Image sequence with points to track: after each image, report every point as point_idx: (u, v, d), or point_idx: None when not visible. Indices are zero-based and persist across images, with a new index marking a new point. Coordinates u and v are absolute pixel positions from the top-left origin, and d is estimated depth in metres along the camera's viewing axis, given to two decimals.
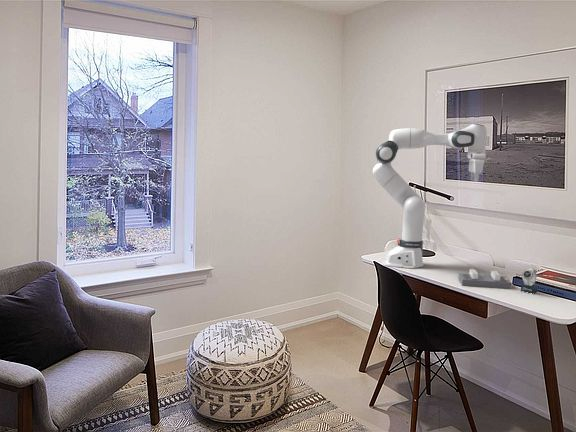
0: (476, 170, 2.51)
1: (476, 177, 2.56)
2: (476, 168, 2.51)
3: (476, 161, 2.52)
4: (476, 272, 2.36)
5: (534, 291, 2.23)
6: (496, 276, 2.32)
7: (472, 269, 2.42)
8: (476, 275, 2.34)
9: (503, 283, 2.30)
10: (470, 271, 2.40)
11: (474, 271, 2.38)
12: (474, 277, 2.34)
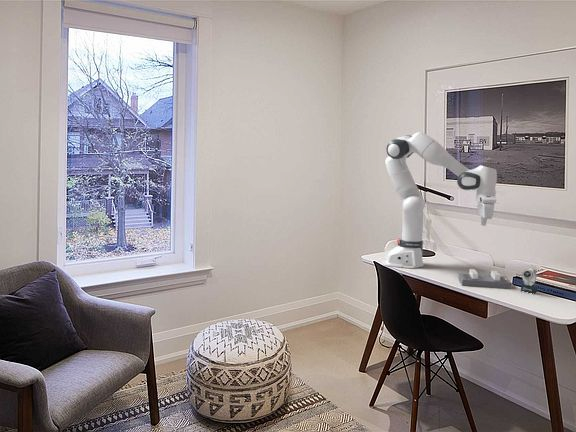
0: (486, 215, 2.35)
1: (484, 221, 2.43)
2: (486, 213, 2.35)
3: (486, 206, 2.35)
4: (476, 272, 2.36)
5: (534, 291, 2.23)
6: (496, 276, 2.32)
7: (472, 269, 2.42)
8: (476, 275, 2.34)
9: (503, 283, 2.30)
10: (470, 271, 2.40)
11: (474, 271, 2.38)
12: (474, 277, 2.34)
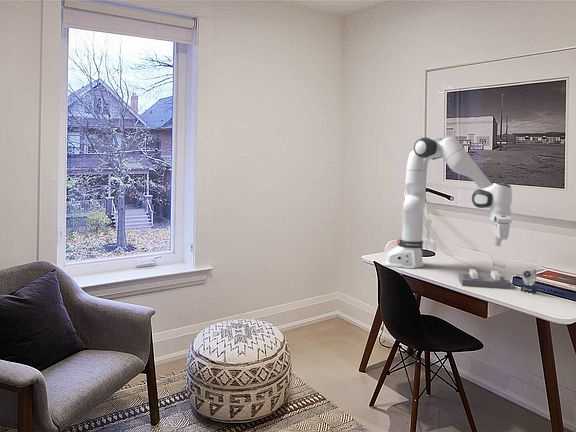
0: (501, 236, 2.24)
1: (498, 241, 2.32)
2: (501, 234, 2.24)
3: (501, 226, 2.24)
4: (476, 272, 2.36)
5: (534, 291, 2.23)
6: (496, 276, 2.32)
7: (472, 269, 2.42)
8: (476, 275, 2.34)
9: (503, 283, 2.30)
10: (470, 271, 2.40)
11: (474, 271, 2.38)
12: (474, 277, 2.34)
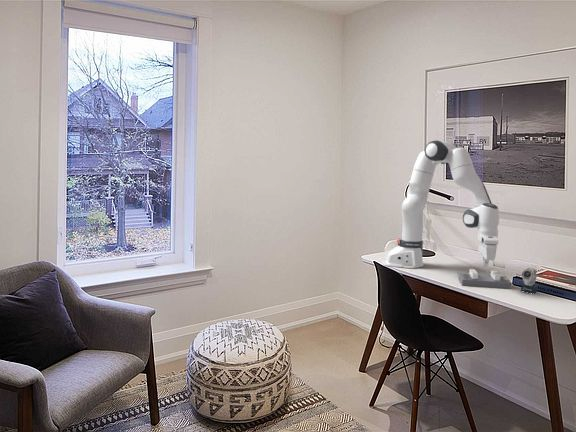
0: (488, 257, 2.26)
1: (486, 261, 2.35)
2: (488, 255, 2.26)
3: (488, 247, 2.26)
4: (476, 272, 2.36)
5: (534, 291, 2.23)
6: (496, 276, 2.32)
7: (472, 269, 2.42)
8: (476, 275, 2.34)
9: (503, 283, 2.30)
10: (470, 271, 2.40)
11: (474, 271, 2.38)
12: (474, 277, 2.34)
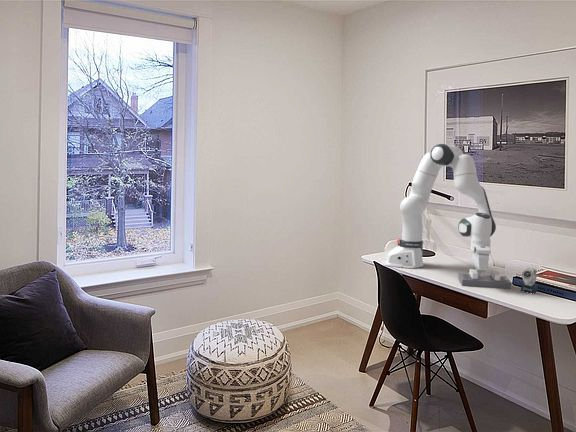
0: (480, 267, 2.28)
1: (478, 271, 2.36)
2: (480, 265, 2.28)
3: (480, 257, 2.28)
4: (476, 272, 2.36)
5: (534, 291, 2.23)
6: (496, 276, 2.32)
7: (472, 269, 2.42)
8: (476, 275, 2.34)
9: (503, 283, 2.30)
10: (470, 271, 2.40)
11: (474, 271, 2.38)
12: (474, 277, 2.34)
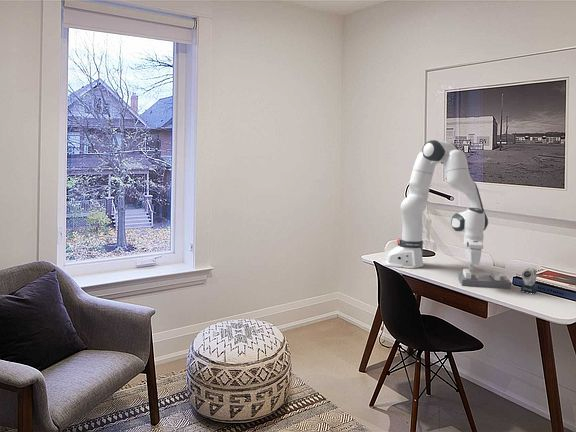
0: (472, 261, 2.28)
1: (471, 265, 2.36)
2: (472, 259, 2.28)
3: (472, 251, 2.28)
4: (469, 272, 2.37)
5: (534, 291, 2.23)
6: (496, 276, 2.32)
7: (465, 269, 2.42)
8: (469, 275, 2.34)
9: (503, 283, 2.30)
10: (463, 271, 2.41)
11: (467, 271, 2.38)
12: (467, 277, 2.35)
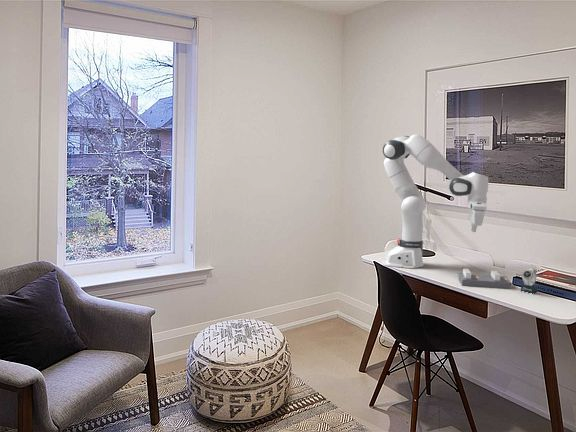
0: (475, 222, 2.36)
1: (474, 227, 2.45)
2: (475, 220, 2.36)
3: (476, 213, 2.36)
4: (469, 272, 2.37)
5: (534, 291, 2.23)
6: (496, 276, 2.32)
7: (465, 269, 2.42)
8: (469, 275, 2.34)
9: (503, 283, 2.30)
10: (463, 271, 2.41)
11: (467, 271, 2.38)
12: (467, 277, 2.35)
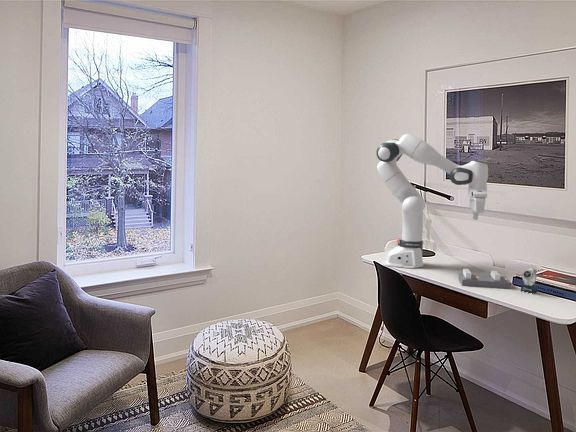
0: (477, 209, 2.41)
1: (476, 215, 2.49)
2: (477, 207, 2.41)
3: (477, 200, 2.41)
4: (469, 272, 2.37)
5: (534, 291, 2.23)
6: (496, 276, 2.32)
7: (465, 269, 2.42)
8: (469, 275, 2.34)
9: (503, 283, 2.30)
10: (463, 271, 2.41)
11: (467, 271, 2.38)
12: (467, 277, 2.35)
